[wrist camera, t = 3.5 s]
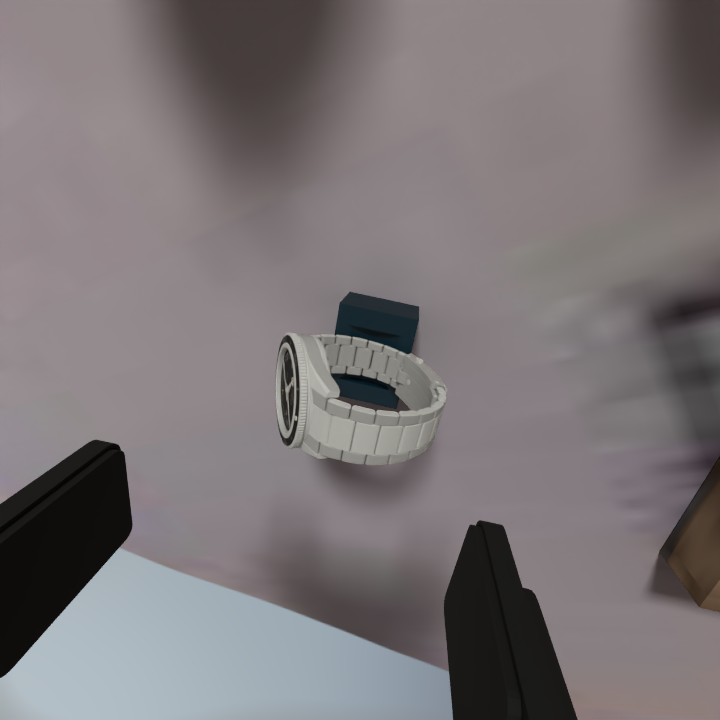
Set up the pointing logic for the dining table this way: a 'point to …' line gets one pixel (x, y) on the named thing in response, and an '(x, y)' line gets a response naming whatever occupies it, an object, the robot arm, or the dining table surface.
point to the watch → (358, 386)
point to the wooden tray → (699, 544)
